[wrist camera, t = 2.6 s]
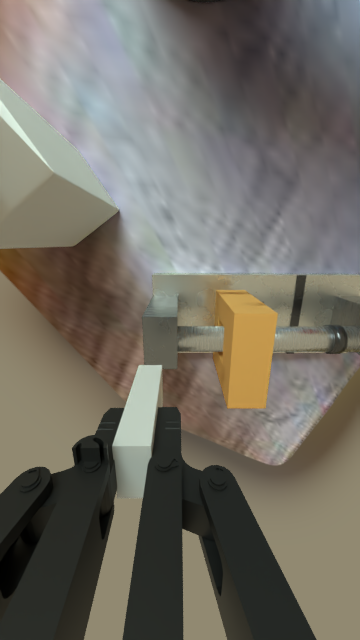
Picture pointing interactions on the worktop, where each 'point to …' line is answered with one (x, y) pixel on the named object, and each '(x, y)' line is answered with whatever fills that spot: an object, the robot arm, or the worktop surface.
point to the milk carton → (44, 182)
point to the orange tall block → (244, 348)
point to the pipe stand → (271, 289)
